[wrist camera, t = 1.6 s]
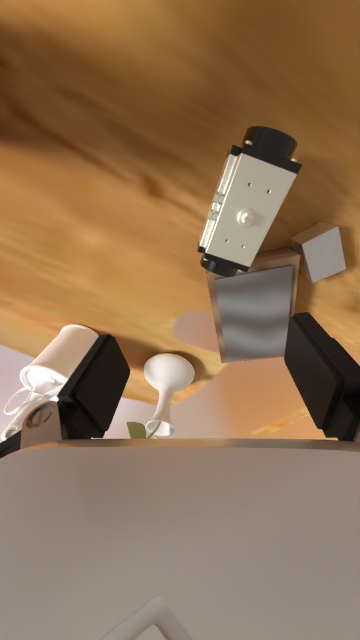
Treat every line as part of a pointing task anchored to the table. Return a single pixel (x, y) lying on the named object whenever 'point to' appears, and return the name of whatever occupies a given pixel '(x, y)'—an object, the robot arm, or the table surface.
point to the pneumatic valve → (247, 199)
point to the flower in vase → (163, 392)
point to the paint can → (50, 371)
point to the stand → (255, 306)
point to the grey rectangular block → (319, 251)
